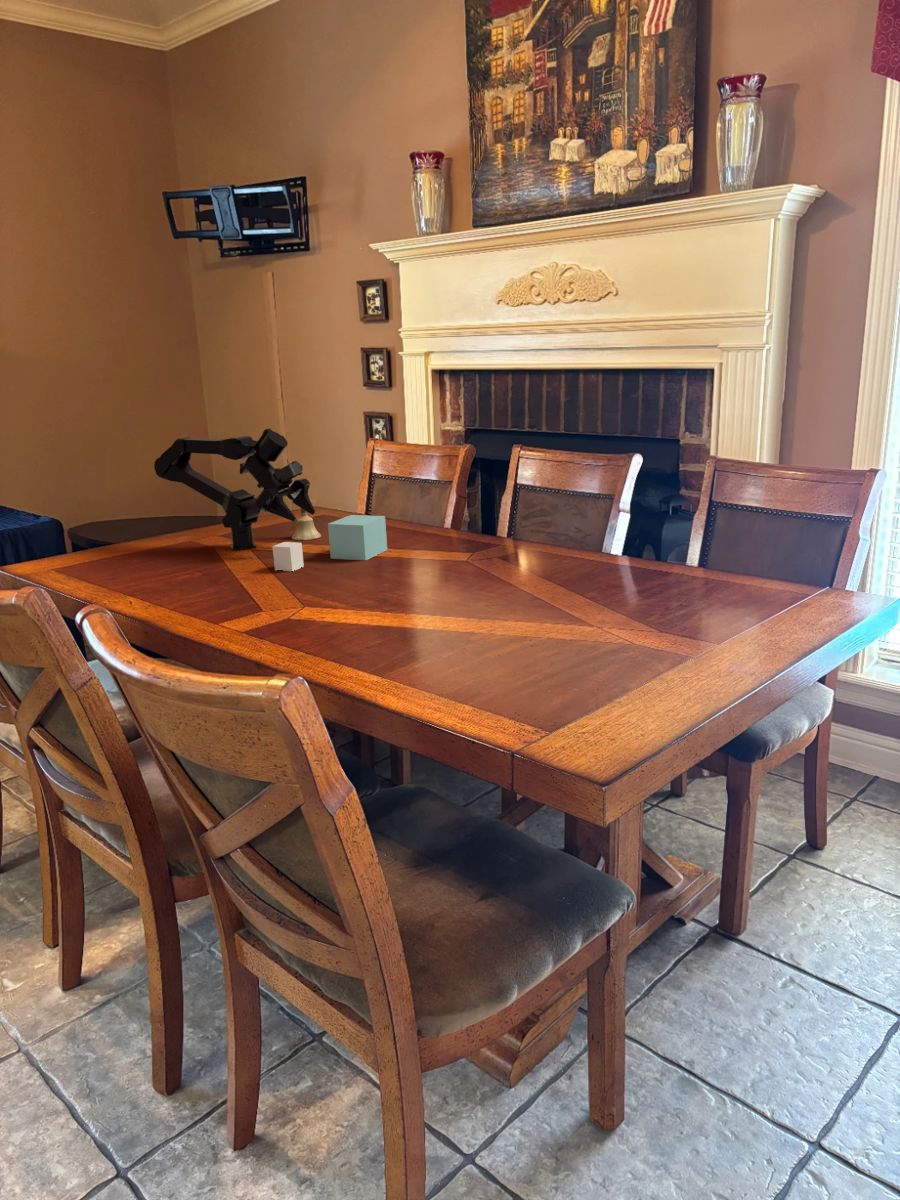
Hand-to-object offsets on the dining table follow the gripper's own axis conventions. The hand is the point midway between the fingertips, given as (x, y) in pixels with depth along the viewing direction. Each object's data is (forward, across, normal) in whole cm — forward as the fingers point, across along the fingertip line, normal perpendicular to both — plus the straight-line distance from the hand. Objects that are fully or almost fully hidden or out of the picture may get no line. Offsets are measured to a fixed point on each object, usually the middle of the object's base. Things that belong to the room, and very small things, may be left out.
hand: (304, 516), depth 222 cm
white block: (+11, -18, +2) cm, 21 cm away
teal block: (+18, 0, -4) cm, 18 cm away
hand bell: (0, +15, +14) cm, 20 cm away
